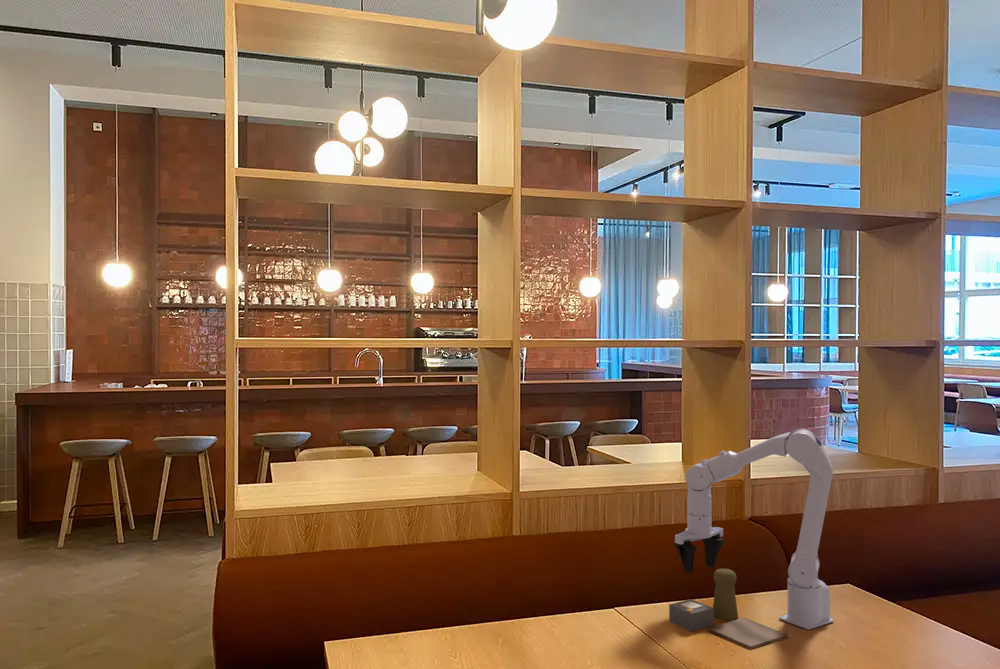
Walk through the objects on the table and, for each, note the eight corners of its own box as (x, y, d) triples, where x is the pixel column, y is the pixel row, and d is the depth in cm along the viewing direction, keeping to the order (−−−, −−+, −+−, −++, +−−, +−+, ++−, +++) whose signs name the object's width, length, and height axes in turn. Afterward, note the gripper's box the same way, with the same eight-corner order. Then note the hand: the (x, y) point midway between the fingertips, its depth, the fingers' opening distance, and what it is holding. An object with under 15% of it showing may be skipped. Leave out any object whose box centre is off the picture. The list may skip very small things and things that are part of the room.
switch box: (691, 615, 182) (691, 597, 182) (713, 625, 176) (713, 606, 176) (669, 621, 178) (669, 602, 178) (691, 631, 172) (691, 612, 172)
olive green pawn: (739, 622, 178) (739, 574, 178) (712, 620, 179) (712, 573, 179) (736, 612, 184) (736, 566, 184) (710, 611, 185) (710, 565, 185)
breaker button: (691, 613, 179) (691, 601, 179) (702, 618, 176) (702, 605, 176) (680, 616, 177) (680, 604, 177) (691, 621, 174) (691, 608, 174)
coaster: (744, 620, 179) (744, 617, 179) (787, 637, 169) (787, 634, 169) (707, 630, 173) (707, 628, 173) (750, 649, 162) (750, 646, 162)
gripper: (707, 506, 195) (707, 560, 195) (665, 514, 188) (665, 569, 188) (729, 512, 189) (729, 567, 189) (687, 520, 182) (687, 577, 182)
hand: (699, 569), depth 188 cm, fingers open, 7 cm apart
